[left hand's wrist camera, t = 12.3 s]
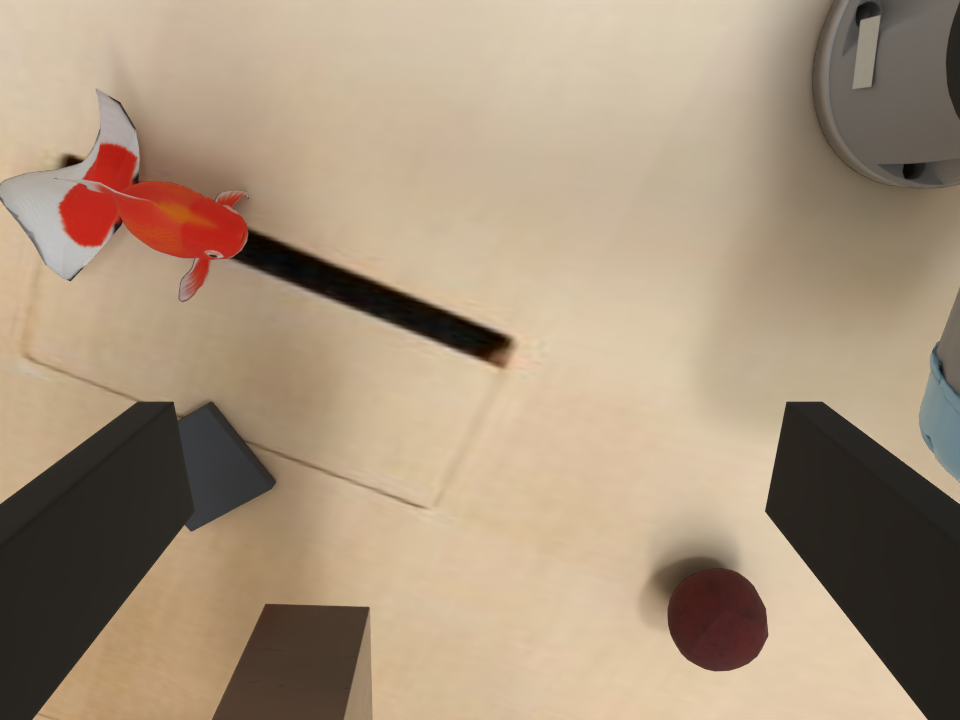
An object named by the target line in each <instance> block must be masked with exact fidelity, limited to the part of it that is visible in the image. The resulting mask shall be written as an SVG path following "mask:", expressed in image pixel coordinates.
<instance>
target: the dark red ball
mask: <svg viewBox="0 0 960 720" xmlns="http://www.w3.org/2000/svg"><path fill="white" fill-rule="evenodd" d="M668 626H669V630H670V634H671V636H672V639H673V641H674V643H675V644H676V646H677V647H678V649H679V651H680V652H681V654H682V655H683V656H684V657H685V658H686V659H687V660H689V661H691V662H692V663H694V664H696V665H698V666H700V667H702V668H704V669H707V670H711V671H730V670H733V669H737V668H740V667H742V666H744V665H746V664H748V663H750V662H751V661H752V660H753V659H754V658H756V657H757V656H758V654H759V653H760V651H761V650H762V648H763V646H764V643H765V641H766V639H767V637H768V626H767V616H766V608H765V606H764V604H763V602H762V600H761V598H760V596H759V595H758V593H757V591H756V589H755V587H754V586H753V585H752V584H751V583H750V582H749V581H748V580H747V579H746V578H745V577H743V576H742V575H741V574H739V573H738V572H735V571H732V570H727V569H722V568H716V569H707V570H704V571H702V572H699V573H696V574H693V575H691V576H690V577H688V578H687V579H686V580H684V581H683V582H681V583H680V584H679V585H678V586H677V588H676V589H675V591H674V593H673V595H672V596H671V598H670V602H669V606H668Z"/></svg>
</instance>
